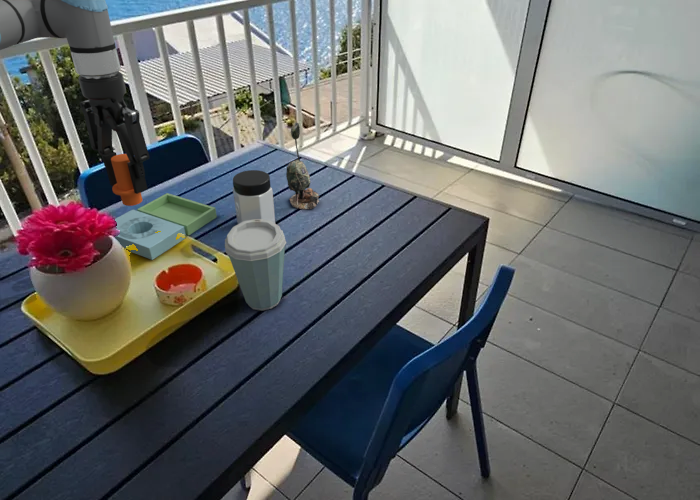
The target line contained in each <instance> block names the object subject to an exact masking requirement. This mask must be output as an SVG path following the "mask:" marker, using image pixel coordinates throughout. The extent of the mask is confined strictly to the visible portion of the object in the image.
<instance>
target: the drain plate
mask: <svg viewBox="0 0 700 500" xmlns="http://www.w3.org/2000/svg"><path fill="white" fill-rule="evenodd" d="M114 219H115V221H116V222H117V226H116V227H117V229H118V230H120V234H119V235H118V236H116V237H115V238H116V239H117V240H118V241H119V242H120V244H121V245H122V246H123V247H124V248H126V246H129V245H132V244H134V245H135V246H136V248H137V249H138V251H136V250H131V251H129V252H130V253H133V254H135V255H137V256H140V257H143V258H146V259H148V260H151V261H153V260H154V259H155V260H156V259H157V258H158V257H159V256H161V255H162V254H164V253H165V252H167V251H169V250H170V249H171V248H173V247H174V246H176V245H178V244H179V243H180V242H182V241H184V240H185V239H186V238H182V237H180V238H179V239H177V240H176V237H177V234H178V233H182V234H185V229H184V226H181V225H178V224H175V223H172V222H169V221H166V220H163V219H160V218H157V217H154V216H151V215H148V214H145V213H142V212H139V211H137V209H131V210H129V211H127V212H125V213H123V214H121V215H119V216H118V217H115V218H114ZM157 231H161V232H158V233H155V232H157ZM185 235H186V234H185ZM186 236H187V235H186Z"/></svg>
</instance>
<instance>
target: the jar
mask: <svg viewBox="0 0 700 500" xmlns="http://www.w3.org/2000/svg"><path fill="white" fill-rule="evenodd" d="M273 192H274V191H273V188H272V187H271V176H270V174H269V173H268V172H265V171H263V170H259V169H250V170H244V171H240V172H238V173H236V174H235V175H233V177H232V193H233V194H232V195H233V202H234V208H235V209H234V210H235V214H236V216H235V217H236V222H237V225H238V224H240V223H241V222H243V221H247V220H254V219H263V220H270V221H272V222H274V223H275V224H276V214H275V213H276V212H275V205H274V204H275V203H274V193H273Z"/></svg>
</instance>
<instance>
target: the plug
mask: <svg viewBox="0 0 700 500" xmlns="http://www.w3.org/2000/svg"><path fill="white" fill-rule="evenodd" d="M111 162H112V166H113V169H114V173H115V177H116V181H117V183H116V184H115V185H114V186H112V187H111V188H112V193H113V194H115V195H116V196H120V199H121V202H122V205H124V206H127V207H132V206H138V205H139V204H141V203H142V202H143V196H142V192H140V193H138V194H136V193H134V189H133V185H132V181H131V177H130V173H129V169H128V165H127V163H128V162H130V161H129V159H128V157H127V154H126V153H120V154H117V155H115V156H113V157H112V158H111Z"/></svg>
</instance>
